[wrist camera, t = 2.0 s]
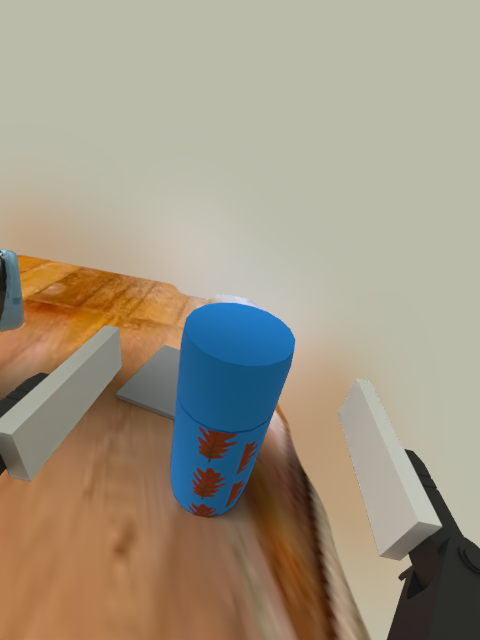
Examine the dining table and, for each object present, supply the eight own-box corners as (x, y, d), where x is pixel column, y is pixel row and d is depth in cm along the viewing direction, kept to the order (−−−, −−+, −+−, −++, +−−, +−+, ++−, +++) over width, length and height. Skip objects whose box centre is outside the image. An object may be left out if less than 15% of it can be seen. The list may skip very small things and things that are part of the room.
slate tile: (115, 397, 45) (115, 393, 44) (164, 348, 58) (164, 344, 58) (200, 430, 42) (200, 426, 42) (230, 371, 56) (230, 367, 55)
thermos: (189, 430, 42) (208, 293, 29) (252, 453, 40) (299, 318, 28) (154, 501, 32) (159, 343, 20) (234, 533, 31) (293, 385, 19)
